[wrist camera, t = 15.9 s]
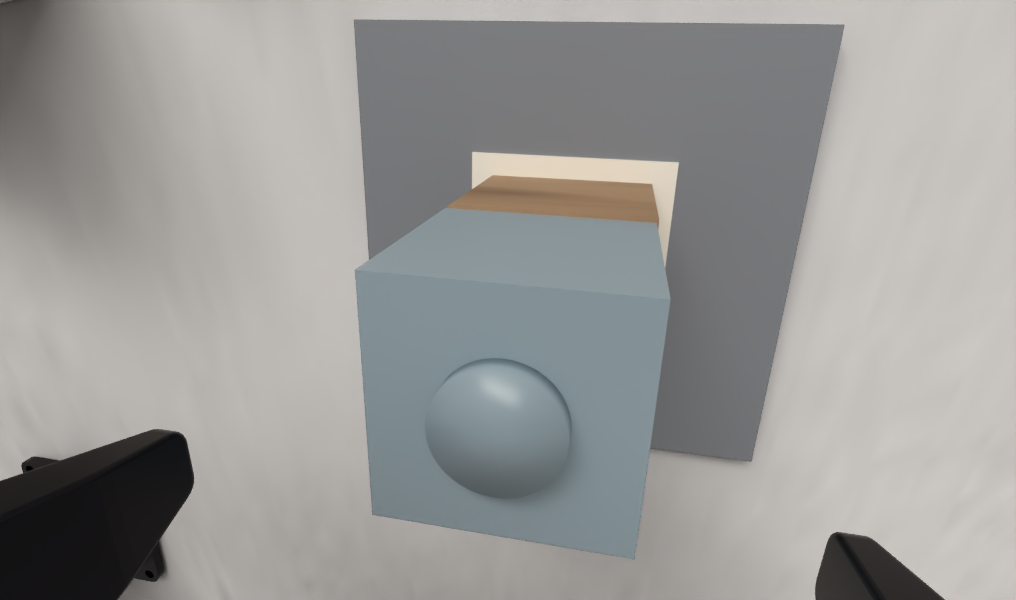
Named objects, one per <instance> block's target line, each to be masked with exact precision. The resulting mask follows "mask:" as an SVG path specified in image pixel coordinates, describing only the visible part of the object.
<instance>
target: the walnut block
mask: <svg viewBox="0 0 1016 600" xmlns="http://www.w3.org/2000/svg"><path fill="white" fill-rule="evenodd" d="M447 208H455V209H469V210H483V211H497V212H511V213H525V214H539V215H553V216H567V217H582V218H596V219H610V220H624V221H638V222H652V223H657V227H659V216H658V211H657V206H656V201H655V196H654V191H653V186H652V184H646V183H627V182H609V181H591V180H573V179H554V178H536V177H518V176H499V175H492V176H491V177H489V178H488V179H486V180H485V181H483V182H482V183H480V184H479V185H478V186H476V187H475V188H473V189H472V190H470V191H469V192H467V193H466V194H464V195H463V196H461V197H460V198H459V199H457V200H456V201H454V202H453V203H451V204H450V205H448V206H447Z"/></svg>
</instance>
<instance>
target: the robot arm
mask: <svg viewBox="0 0 1016 600" xmlns="http://www.w3.org/2000/svg"><path fill="white" fill-rule="evenodd" d="M21 466H22V470H23V474H20V475H17V476H14V477H11V478H8V479H5V480H2V481H0V600H118V599H119V597H120V596H121V595H122V593H123V592H124V591H125V589H126V588H127V587H128V585H129V584H130V582H131V581H132V580H133V578H136V579H141V580H146V581H151V582H155V581H157V580H158V579H159V578H160V577H161V576H162V575H163V573H164V569H163V565H162V561H161V557H160V553H159V549H158V544H157V543H158V541H159V540H160V538H161V537H162V535H163V534H164V532H165V531H166V529H167V528H168V526H169V525H170V523H171V522H172V520H173V519H174V517H175V516H176V514H177V513H178V511H179V510H180V508H181V507H182V505H183V504H184V502H185V501H186V499H187V498H188V496H189V495H190V493H191V491H192V488H193V484H194V473H193V468H192V464H191V459H190V454H189V449H188V444H187V441H186V438H185V437H184V436H183V434H181V433H179V432H175V431H169V430H162V429H153V430H150V431H147V432H144V433H141V434H138V435H135V436H132V437H129V438H126V439H123V440H120V441H117V442H114V443H111V444H108V445H105V446H102V447H99V448H96V449H93V450H90V451H88V452H85V453H82V454H79V455H76V456H73V457H70V458H67V459H64V460H61V461H58V460H52V459H46V458H40V457H31V458H29V459H28V460H26V461H25V462H23V463H22V465H21ZM815 597H816V600H945V599H944V598H942V597H941V596H940V595H939V594H938V593H936V592H935V591H934V590H933V589H932V588H930V587H929V586H928V585H927V584H926V583H925V582H923V581H922V580H921V579H920V578H919V577H917V576H916V575H915V574H914V573H913V572H911V571H910V570H909V569H908V568H907V567H905V566H904V565H903V564H902V563H901V562H900V561H898V560H897V559H896V558H895V557H894V556H892V555H891V554H890V553H889V552H888V551H886V550H885V549H884V548H883V547H882V546H880V545H879V544H878V543H877V542H876V541H874V540H873V539H871V538H869V537H867V536H862V535H855V534H848V533H842V532H836V533H833V534H832V535H831V536H830V537H829V539H828V542H827V545H826V549H825V552H824V555H823V559H822V562H821V566H820V569H819V573H818V576H817V580H816V586H815Z"/></svg>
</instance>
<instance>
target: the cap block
mask: <svg viewBox="0 0 1016 600" xmlns="http://www.w3.org/2000/svg"><path fill="white" fill-rule="evenodd" d="M355 277H356V291H357V305H358V319H359V333H360V347H361V361H362V375H363V389H364V403H365V417H366V431H367V445H368V459H369V473H370V487H371V501H372V515H377V516H383V517H389V518H395V519H401V520H406V521H412V522H418V523H424V524H430V525H436V526H442V527H448V528H453V529H459V530H465V531H471V532H477V533H483V534H489V535H495V536H500V537H506V538H512V539H518V540H524V541H530V542H536V543H542V544H547V545H553V546H559V547H565V548H571V549H577V550H583V551H589V552H594V553H600V554H606V555H612V556H618V557H624V558H630V559H635V553H636V546H637V538H638V531H639V524H640V517H641V510H642V502H643V495H644V488H645V481H646V474H647V466H648V459H649V452H650V445H651V437H652V430H653V423H654V416H655V409H656V401H657V394H658V387H659V380H660V373H661V365H662V358H663V351H664V344H665V336H666V329H667V322H668V315H669V308H670V300H671V298H670V293H669V287H668V282H667V276H666V271H665V265H664V260H663V254H662V249H661V243H660V238H659V232H658V227H657V223H652V222H638V221H624V220H610V219H596V218H582V217H567V216H553V215H539V214H525V213H511V212H497V211H483V210H469V209H455V208H444V209H443V210H442V211H440V212H439V213H437V214H436V215H434V216H433V217H431V218H430V219H428V220H427V221H426V222H424V223H423V224H421V225H420V226H418V227H417V228H415V229H414V230H412V231H411V232H409V233H408V234H407V235H405V236H404V237H402V238H401V239H399V240H398V241H396V242H395V243H393V244H392V245H391V246H389V247H388V248H386V249H385V250H383V251H382V252H380V253H379V254H377V255H376V256H374V257H373V258H372V259H370V260H369V261H367V262H366V263H364V264H363V265H361V266H360V267H358V268H357V269H355Z"/></svg>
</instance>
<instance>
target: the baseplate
mask: <svg viewBox="0 0 1016 600" xmlns="http://www.w3.org/2000/svg"><path fill="white" fill-rule="evenodd" d="M354 29H355V45H356V60H357V76H358V92H359V108H360V123H361V139H362V155H363V170H364V186H365V202H366V218H367V233H368V249H369V260H370V259H372V258H373V257H374V256H376V255H377V254H379V253H380V252H382V251H383V250H385V249H386V248H388V247H389V246H391V245H392V244H393V243H395V242H396V241H398V240H399V239H401V238H402V237H404V236H405V235H407V234H408V233H409V232H411V231H412V230H414V229H415V228H417V227H418V226H420V225H421V224H423V223H424V222H426V221H427V220H428V219H430V218H431V217H433V216H434V215H436V214H437V213H439V212H440V211H442V210H443V209H444V208H447V206H448V205H450V204H451V203H453V202H454V201H456V200H457V199H459V198H460V197H461V196H463V195H464V194H466V193H467V192H469V191H470V190H472V189H473V188H475V187H476V186H478V185H479V184H480V183H482V182H483V181H485V180H486V179H488V178H489V177H491V176H492V175H499V176H518V177H536V178H554V179H573V180H591V181H609V182H627V183H646V184H652V186H653V191H654V196H655V201H656V206H657V211H658V216H659V227H658V232H659V238H660V243H661V249H662V254H663V260H664V265H665V271H666V276H667V282H668V287H669V293H670V298H671V300H670V308H669V315H668V322H667V329H666V336H665V344H664V351H663V358H662V365H661V373H660V380H659V387H658V394H657V401H656V409H655V416H654V423H653V430H652V437H651V445H650V448H654V449H662V450H669V451H676V452H684V453H691V454H699V455H706V456H713V457H721V458H728V459H736V460H743V461H750V462H751V461H752V456H753V451H754V447H755V442H756V437H757V433H758V428H759V423H760V419H761V414H762V409H763V405H764V400H765V395H766V391H767V386H768V381H769V376H770V372H771V367H772V362H773V358H774V353H775V348H776V344H777V339H778V334H779V330H780V325H781V320H782V316H783V311H784V306H785V302H786V297H787V292H788V287H789V283H790V278H791V273H792V269H793V264H794V259H795V255H796V250H797V245H798V241H799V236H800V231H801V227H802V222H803V217H804V213H805V208H806V203H807V199H808V194H809V189H810V184H811V180H812V175H813V170H814V166H815V161H816V156H817V152H818V147H819V142H820V138H821V133H822V128H823V124H824V119H825V114H826V110H827V105H828V100H829V95H830V91H831V86H832V81H833V77H834V72H835V67H836V63H837V58H838V53H839V49H840V44H841V39H842V35H843V30H844V25H823V24H727V23H631V22H535V21H439V20H354Z"/></svg>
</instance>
